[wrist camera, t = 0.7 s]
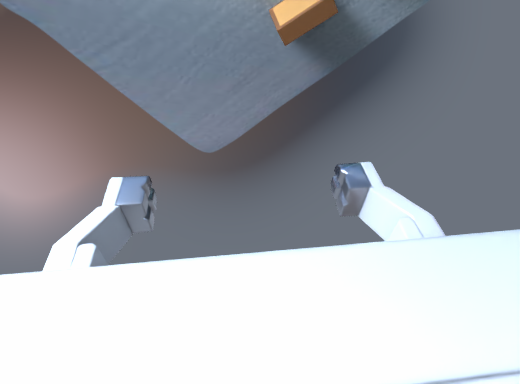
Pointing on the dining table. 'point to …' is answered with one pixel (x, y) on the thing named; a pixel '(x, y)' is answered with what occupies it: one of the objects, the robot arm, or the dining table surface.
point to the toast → (300, 16)
